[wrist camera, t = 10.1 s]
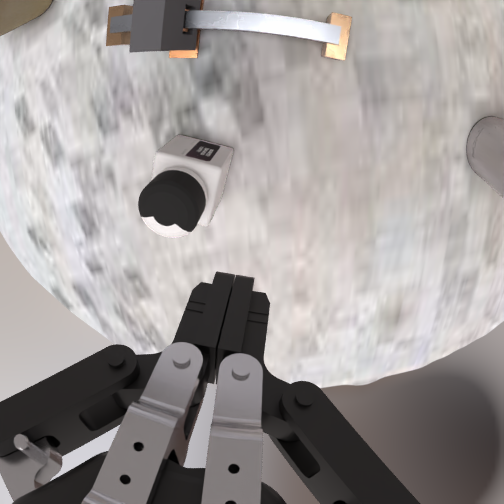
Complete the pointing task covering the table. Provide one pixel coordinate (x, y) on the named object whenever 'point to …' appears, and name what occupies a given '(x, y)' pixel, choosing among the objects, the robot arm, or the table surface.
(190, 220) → the container
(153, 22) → the collar
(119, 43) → the rail
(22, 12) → the plant pot
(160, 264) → the table surface
